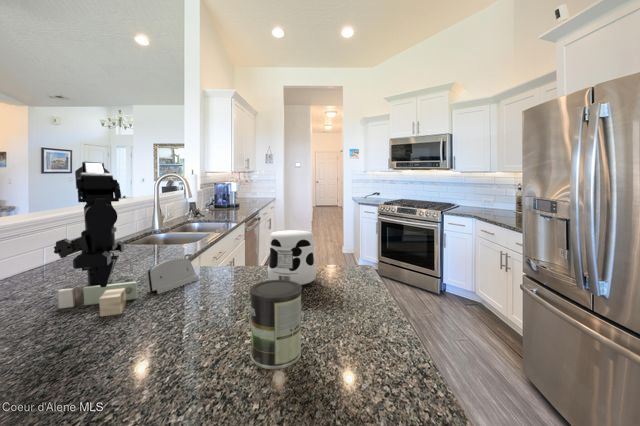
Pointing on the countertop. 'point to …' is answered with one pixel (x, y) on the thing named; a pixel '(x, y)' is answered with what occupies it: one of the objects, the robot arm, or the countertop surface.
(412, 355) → the countertop surface
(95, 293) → the door
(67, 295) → the wall stub
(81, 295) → the gate post
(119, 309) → the block
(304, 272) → the milk container
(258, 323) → the coffee can
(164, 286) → the grey curved upright block
